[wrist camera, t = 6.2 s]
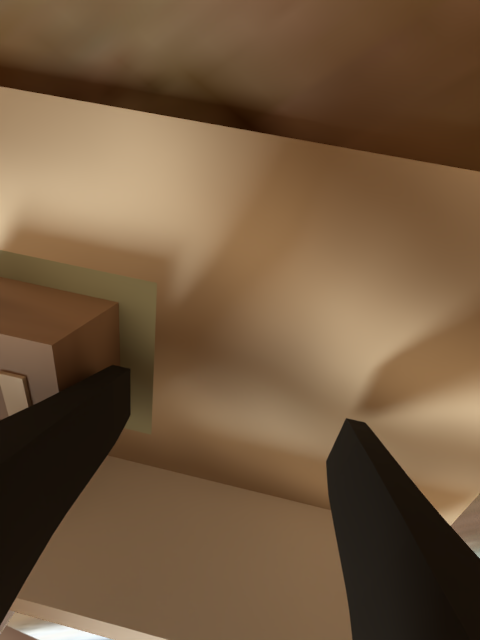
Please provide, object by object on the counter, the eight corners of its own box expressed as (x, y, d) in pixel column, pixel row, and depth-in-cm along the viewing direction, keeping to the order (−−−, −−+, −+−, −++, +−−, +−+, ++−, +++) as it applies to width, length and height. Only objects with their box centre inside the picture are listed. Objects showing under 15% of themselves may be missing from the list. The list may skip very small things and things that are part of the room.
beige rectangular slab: (363, 535, 13) (410, 722, 8) (43, 455, 13) (-76, 586, 9) (372, 520, 12) (429, 712, 8) (40, 438, 13) (-89, 568, 8)
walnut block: (121, 410, 11) (69, 479, 9) (11, 384, 12) (-75, 443, 9) (118, 302, 9) (48, 347, 6) (-17, 273, 9) (-141, 304, 7)
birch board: (416, 529, 13) (425, 553, 13) (24, 433, 14) (7, 449, 14) (670, 213, 7) (729, 215, 6) (-63, 82, 8) (-107, 67, 7)
